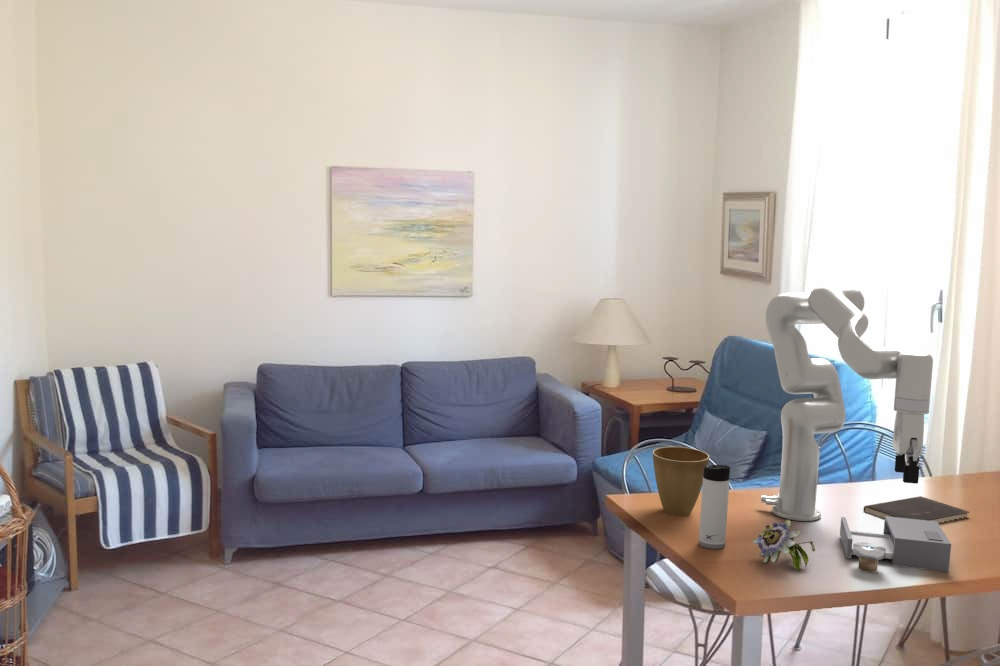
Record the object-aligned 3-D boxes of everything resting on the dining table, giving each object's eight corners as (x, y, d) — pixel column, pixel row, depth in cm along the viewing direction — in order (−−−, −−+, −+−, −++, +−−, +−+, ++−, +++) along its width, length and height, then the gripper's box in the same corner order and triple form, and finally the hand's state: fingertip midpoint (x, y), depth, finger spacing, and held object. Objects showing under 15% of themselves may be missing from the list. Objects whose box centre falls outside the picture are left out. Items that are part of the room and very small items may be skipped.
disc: (854, 557, 218) (854, 550, 218) (851, 547, 225) (851, 540, 224) (887, 561, 216) (887, 554, 216) (883, 551, 223) (883, 544, 223)
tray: (846, 557, 226) (848, 538, 226) (839, 534, 242) (841, 516, 242) (902, 563, 223) (903, 544, 223) (891, 540, 240) (893, 522, 239)
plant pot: (640, 504, 264) (643, 447, 262) (689, 501, 268) (693, 445, 266) (664, 521, 249) (667, 461, 247) (715, 518, 254) (719, 459, 252)
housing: (892, 565, 224) (895, 537, 223) (882, 541, 240) (885, 515, 239) (948, 571, 221) (951, 543, 220) (934, 547, 237) (937, 520, 236)
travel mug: (711, 551, 229) (716, 469, 226) (693, 542, 235) (698, 462, 232) (731, 547, 232) (737, 466, 229) (713, 539, 237) (718, 460, 235)
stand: (859, 570, 219) (860, 556, 219) (857, 564, 223) (858, 550, 223) (877, 573, 218) (879, 558, 218) (875, 566, 222) (877, 552, 222)
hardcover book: (968, 519, 262) (969, 511, 262) (913, 530, 251) (913, 522, 251) (918, 503, 276) (918, 495, 276) (863, 513, 265) (863, 505, 265)
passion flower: (765, 585, 223) (740, 537, 227) (798, 569, 228) (773, 522, 232) (794, 573, 214) (768, 523, 217) (828, 557, 219) (802, 508, 223)
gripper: (887, 397, 232) (882, 467, 234) (901, 410, 215) (896, 485, 217) (920, 399, 230) (915, 469, 232) (937, 413, 214) (931, 488, 216)
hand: (906, 477), depth 225 cm, fingers open, 9 cm apart
